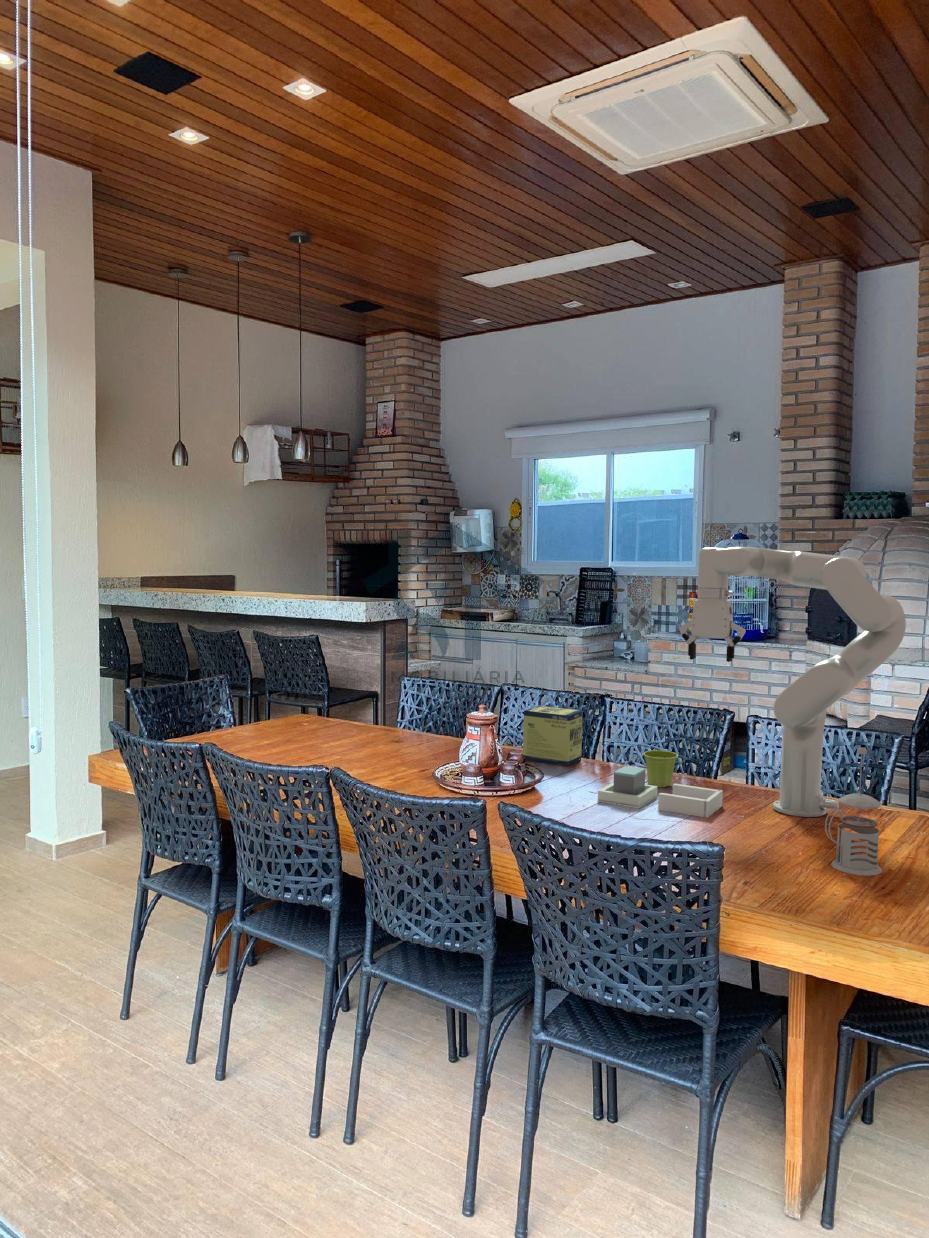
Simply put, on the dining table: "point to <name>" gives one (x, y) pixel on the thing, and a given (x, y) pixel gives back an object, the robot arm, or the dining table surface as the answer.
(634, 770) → the grey cube with lid
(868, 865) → the french press
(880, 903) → the dining table surface
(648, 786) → the tray
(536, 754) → the protein box
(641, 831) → the dining table surface
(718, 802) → the bay
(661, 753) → the plant pot
